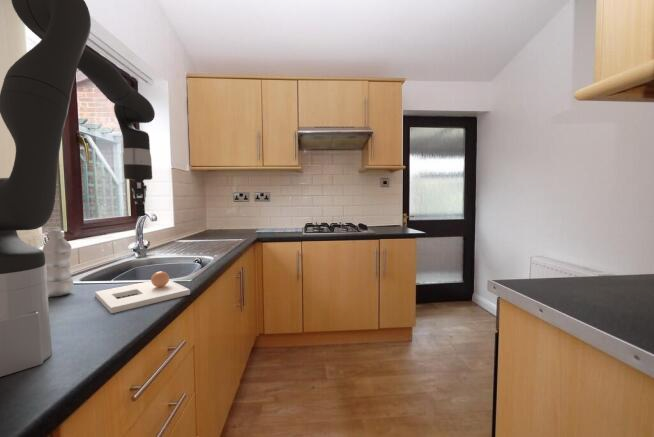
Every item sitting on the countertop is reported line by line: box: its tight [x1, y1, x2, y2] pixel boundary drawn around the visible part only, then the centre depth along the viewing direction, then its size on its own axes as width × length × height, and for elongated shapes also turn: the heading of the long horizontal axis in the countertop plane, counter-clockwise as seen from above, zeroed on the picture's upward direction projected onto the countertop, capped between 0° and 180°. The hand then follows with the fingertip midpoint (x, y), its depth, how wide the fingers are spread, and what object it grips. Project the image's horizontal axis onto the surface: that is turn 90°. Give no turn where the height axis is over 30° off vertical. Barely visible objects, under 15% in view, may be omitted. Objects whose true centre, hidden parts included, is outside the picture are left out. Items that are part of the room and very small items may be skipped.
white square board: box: [94, 279, 191, 314], centre depth 90 cm, size 20×20×2 cm
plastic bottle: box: [41, 230, 75, 297], centre depth 90 cm, size 6×7×20 cm
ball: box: [150, 270, 170, 287], centre depth 93 cm, size 5×5×5 cm
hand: (140, 215), depth 94 cm, fingers open, 8 cm apart
